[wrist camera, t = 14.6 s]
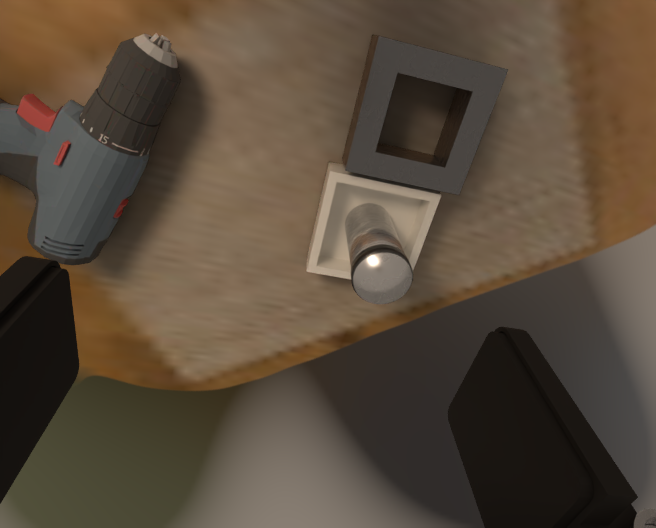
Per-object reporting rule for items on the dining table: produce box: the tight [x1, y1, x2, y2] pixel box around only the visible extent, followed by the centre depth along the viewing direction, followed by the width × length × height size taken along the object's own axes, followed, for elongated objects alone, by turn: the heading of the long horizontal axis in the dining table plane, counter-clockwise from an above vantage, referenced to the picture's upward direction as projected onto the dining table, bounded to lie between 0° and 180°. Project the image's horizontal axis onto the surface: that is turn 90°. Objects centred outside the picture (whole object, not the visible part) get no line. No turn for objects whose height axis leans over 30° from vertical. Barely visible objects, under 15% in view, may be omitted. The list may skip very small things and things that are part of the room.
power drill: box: [0, 33, 181, 265], centre depth 29 cm, size 5×19×20 cm
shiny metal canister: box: [345, 203, 413, 304], centre depth 33 cm, size 4×4×9 cm
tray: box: [307, 162, 441, 279], centre depth 36 cm, size 9×9×3 cm
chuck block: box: [342, 35, 508, 195], centre depth 31 cm, size 9×9×3 cm
